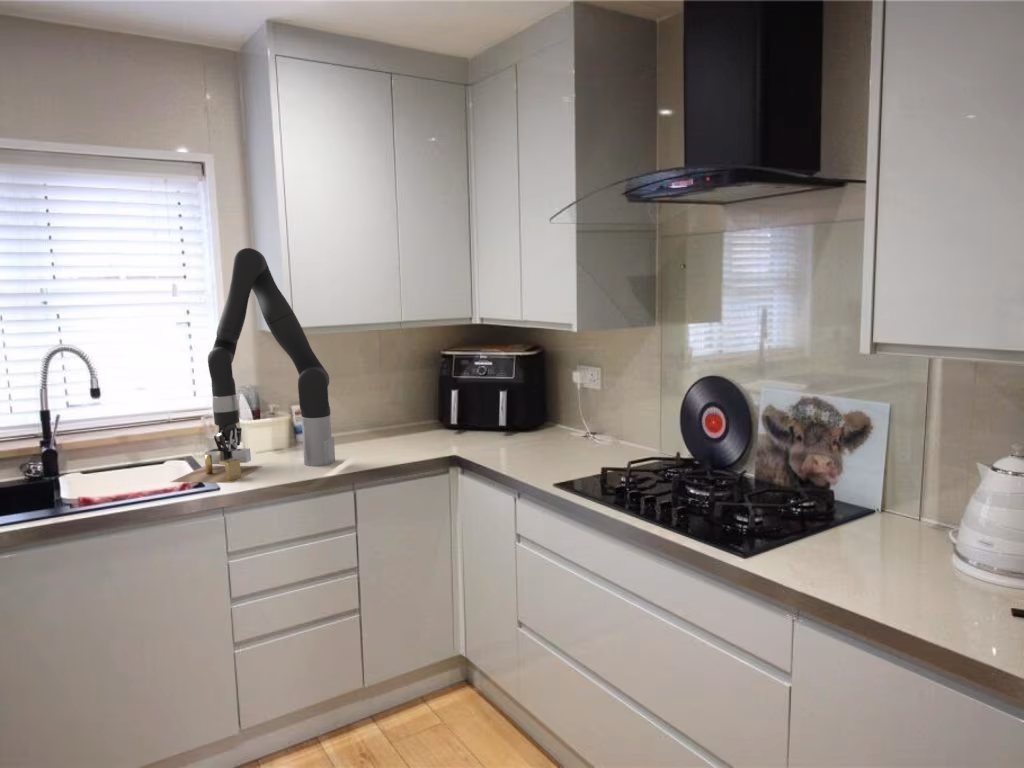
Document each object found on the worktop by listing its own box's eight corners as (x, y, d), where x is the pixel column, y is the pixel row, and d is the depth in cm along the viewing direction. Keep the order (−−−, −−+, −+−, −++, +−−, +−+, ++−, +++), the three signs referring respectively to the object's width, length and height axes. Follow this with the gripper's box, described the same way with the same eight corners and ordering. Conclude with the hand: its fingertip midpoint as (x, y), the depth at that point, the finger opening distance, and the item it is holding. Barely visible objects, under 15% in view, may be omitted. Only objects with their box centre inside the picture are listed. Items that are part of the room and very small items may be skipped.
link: (252, 459, 236) (251, 447, 235) (244, 463, 231) (243, 451, 230) (214, 460, 238) (213, 448, 237) (206, 464, 232) (204, 452, 232)
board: (263, 469, 237) (263, 466, 237) (232, 486, 217) (232, 482, 217) (206, 469, 239) (205, 465, 239) (170, 485, 220) (170, 481, 220)
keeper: (220, 478, 222) (219, 461, 221) (232, 475, 225) (230, 458, 224) (229, 480, 219) (228, 462, 218) (241, 477, 222) (239, 460, 222)
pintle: (214, 472, 229) (212, 454, 229) (210, 474, 227) (209, 455, 227) (208, 472, 230) (206, 454, 229) (204, 474, 228) (203, 455, 227)
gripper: (225, 412, 224) (231, 467, 227) (247, 405, 238) (252, 456, 241) (203, 413, 225) (208, 467, 228) (225, 405, 239) (230, 456, 241)
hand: (230, 461), depth 234 cm, fingers closed on link, 3 cm apart
